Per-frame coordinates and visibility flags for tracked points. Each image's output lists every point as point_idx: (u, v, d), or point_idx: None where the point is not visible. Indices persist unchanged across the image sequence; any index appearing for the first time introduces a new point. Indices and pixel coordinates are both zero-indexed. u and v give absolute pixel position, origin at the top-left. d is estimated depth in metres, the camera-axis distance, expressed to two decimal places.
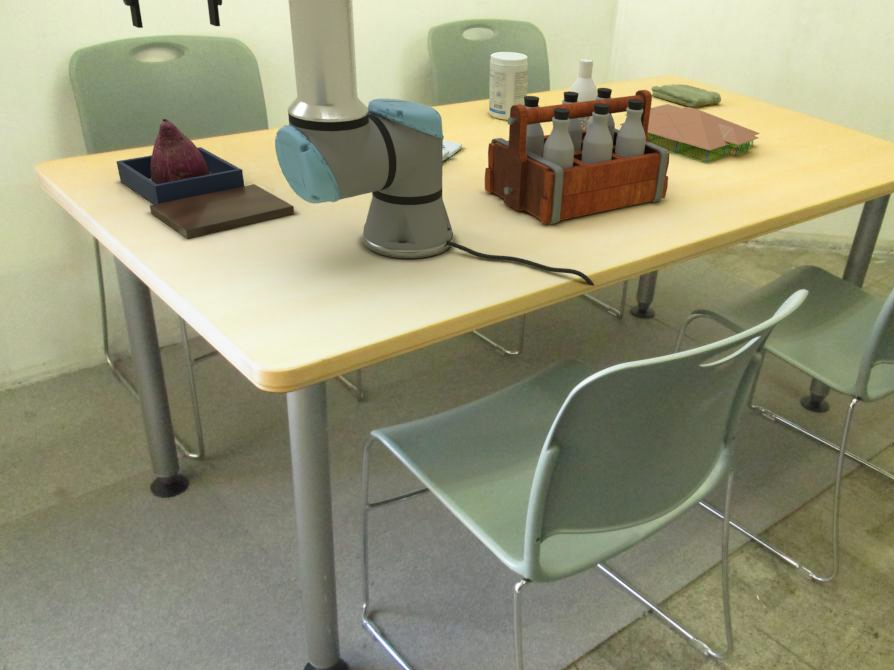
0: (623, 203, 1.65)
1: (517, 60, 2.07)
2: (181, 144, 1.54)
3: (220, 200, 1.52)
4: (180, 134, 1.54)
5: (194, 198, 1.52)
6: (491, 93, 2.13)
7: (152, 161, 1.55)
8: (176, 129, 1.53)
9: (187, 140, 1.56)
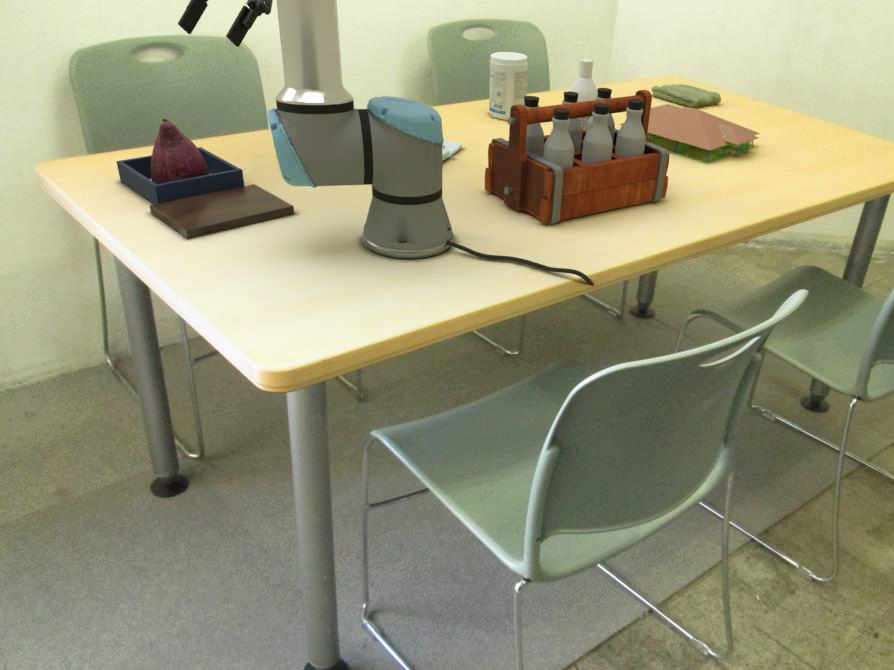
0: (623, 203, 1.65)
1: (517, 60, 2.07)
2: (181, 144, 1.54)
3: (220, 200, 1.52)
4: (180, 134, 1.54)
5: (194, 198, 1.52)
6: (491, 93, 2.13)
7: (152, 161, 1.55)
8: (176, 129, 1.53)
9: (187, 140, 1.56)
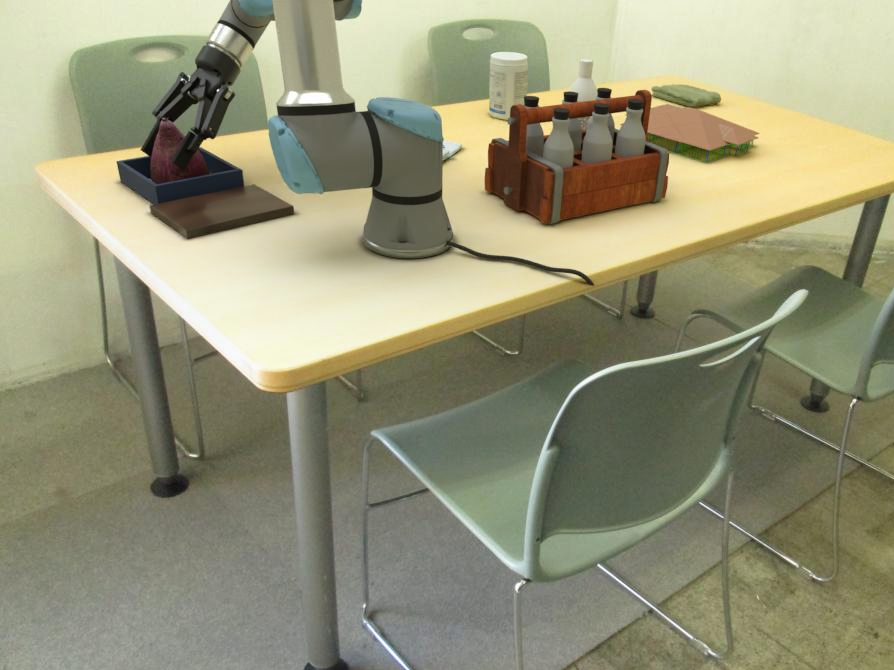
0: (623, 203, 1.65)
1: (517, 60, 2.07)
2: None
3: (220, 200, 1.52)
4: (180, 134, 1.54)
5: (194, 198, 1.52)
6: (491, 93, 2.13)
7: (152, 161, 1.55)
8: (176, 129, 1.53)
9: None
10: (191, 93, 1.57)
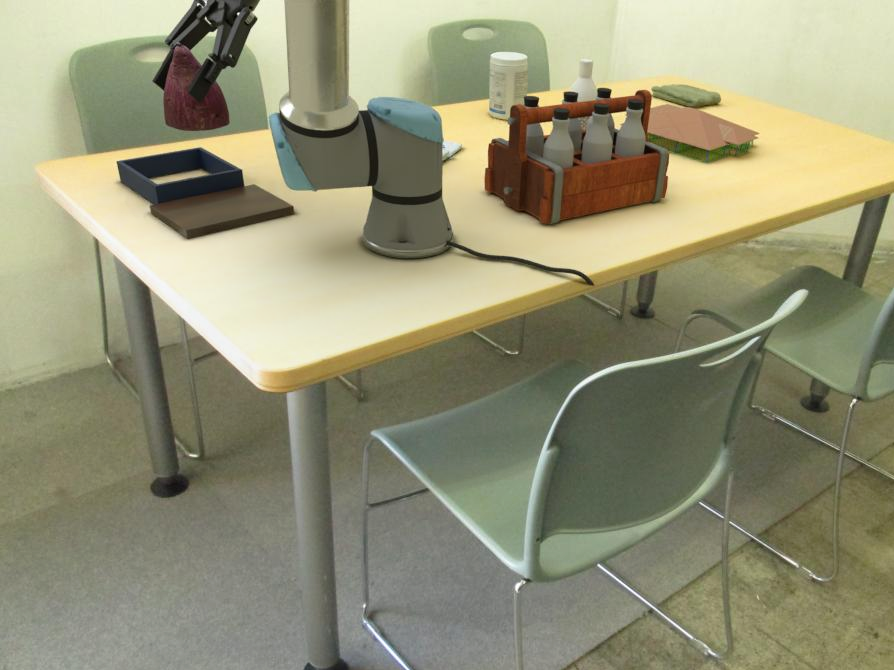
0: (623, 203, 1.65)
1: (517, 60, 2.07)
2: None
3: (220, 200, 1.52)
4: (196, 62, 1.39)
5: (194, 198, 1.52)
6: (491, 93, 2.13)
7: (165, 93, 1.40)
8: (192, 56, 1.38)
9: None
10: (208, 18, 1.41)
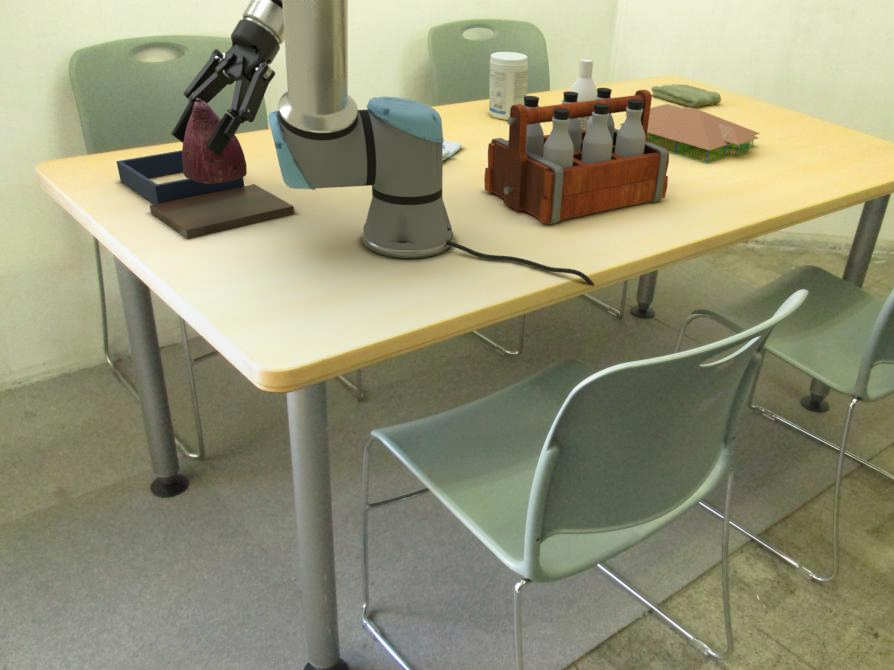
0: (623, 203, 1.65)
1: (517, 60, 2.07)
2: None
3: (220, 200, 1.52)
4: (215, 116, 1.41)
5: (194, 198, 1.52)
6: (491, 93, 2.13)
7: (184, 146, 1.42)
8: (211, 111, 1.40)
9: None
10: (227, 72, 1.43)
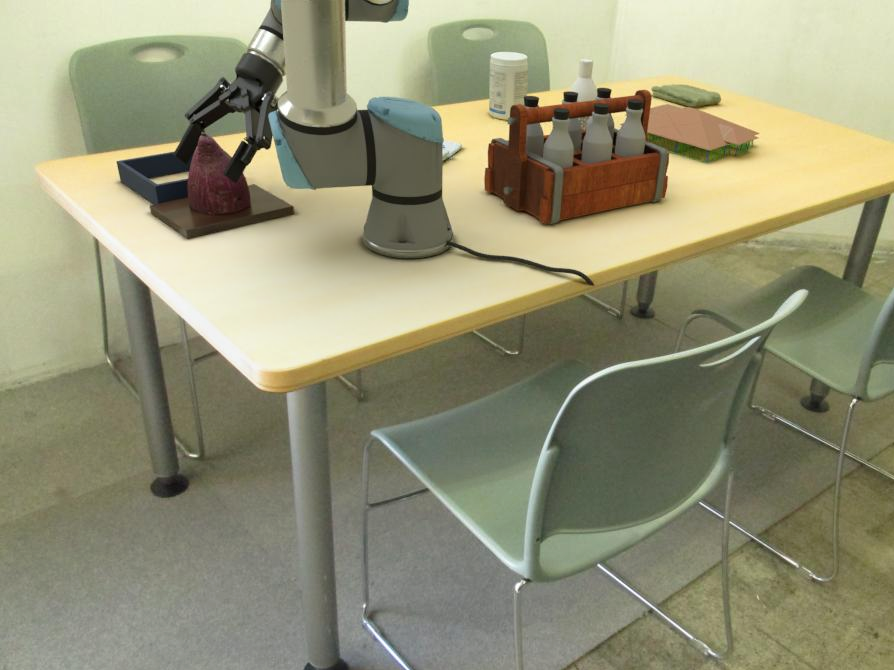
0: (623, 203, 1.65)
1: (517, 60, 2.07)
2: (221, 160, 1.44)
3: None
4: (220, 149, 1.44)
5: None
6: (491, 93, 2.13)
7: (189, 178, 1.45)
8: (216, 144, 1.43)
9: (227, 156, 1.45)
10: (231, 104, 1.46)
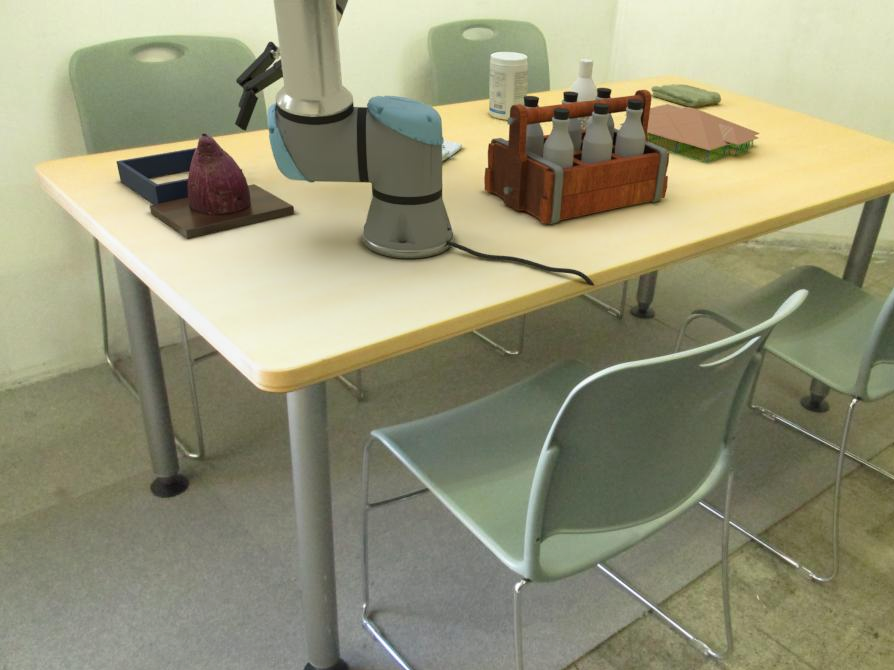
0: (623, 203, 1.65)
1: (517, 60, 2.07)
2: (221, 160, 1.44)
3: None
4: (220, 149, 1.44)
5: None
6: (491, 93, 2.13)
7: (189, 178, 1.45)
8: (216, 144, 1.43)
9: (227, 156, 1.45)
10: None
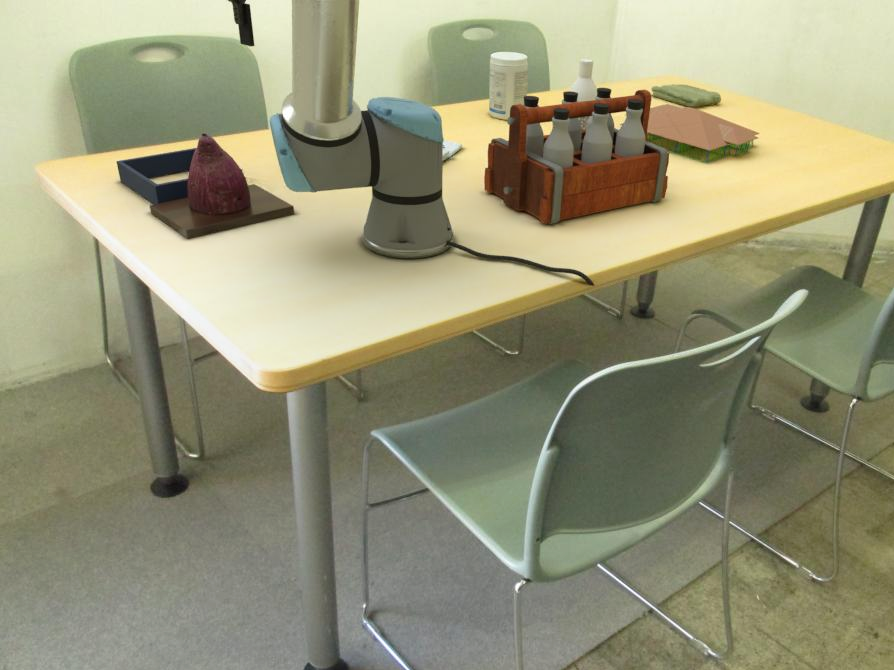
0: (623, 203, 1.65)
1: (517, 60, 2.07)
2: (221, 160, 1.44)
3: None
4: (220, 149, 1.44)
5: None
6: (491, 93, 2.13)
7: (189, 178, 1.45)
8: (216, 144, 1.43)
9: (227, 156, 1.45)
10: None
